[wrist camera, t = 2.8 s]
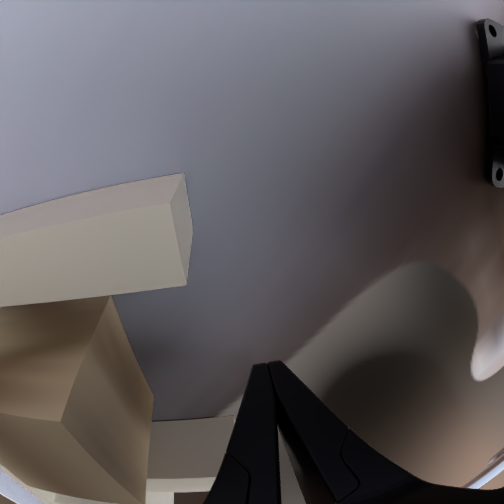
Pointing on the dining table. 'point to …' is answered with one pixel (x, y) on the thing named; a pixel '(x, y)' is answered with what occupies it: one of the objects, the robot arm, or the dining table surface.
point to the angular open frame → (111, 283)
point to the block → (73, 401)
